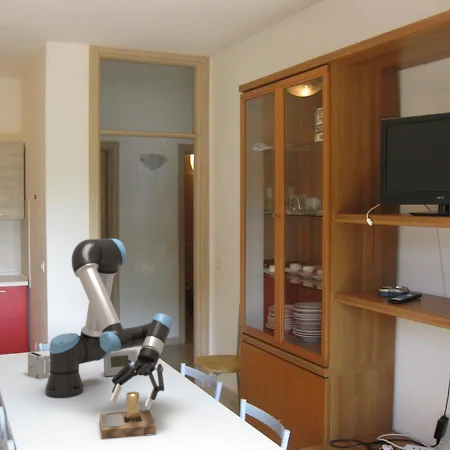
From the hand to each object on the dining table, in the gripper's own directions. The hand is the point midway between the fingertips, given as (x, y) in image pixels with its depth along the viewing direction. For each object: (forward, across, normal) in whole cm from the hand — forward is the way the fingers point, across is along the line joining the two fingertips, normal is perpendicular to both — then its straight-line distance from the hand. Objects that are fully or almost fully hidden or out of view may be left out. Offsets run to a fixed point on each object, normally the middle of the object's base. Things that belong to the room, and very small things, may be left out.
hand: (129, 405), depth 205 cm
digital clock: (-34, +38, -47) cm, 69 cm away
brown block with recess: (+5, +2, -7) cm, 9 cm away
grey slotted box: (-22, +69, -34) cm, 80 cm away
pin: (+4, 0, -8) cm, 9 cm away
